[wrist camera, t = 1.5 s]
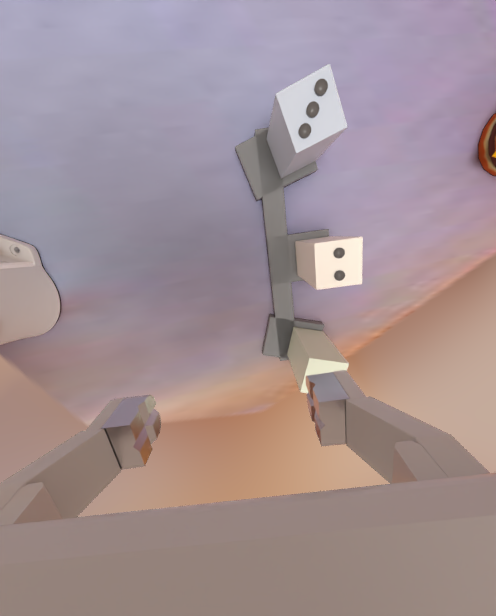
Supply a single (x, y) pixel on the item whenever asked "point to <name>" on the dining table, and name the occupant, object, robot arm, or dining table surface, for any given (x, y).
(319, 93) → the key three dots
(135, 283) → the dining table surface
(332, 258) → the key two dots
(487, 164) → the hamburger
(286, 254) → the grey flat piece
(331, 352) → the key one dot
